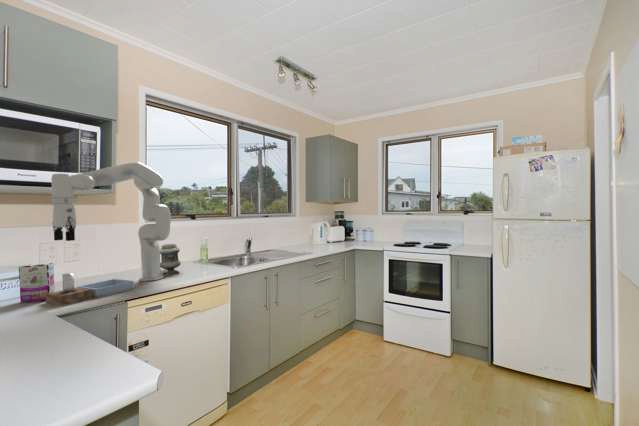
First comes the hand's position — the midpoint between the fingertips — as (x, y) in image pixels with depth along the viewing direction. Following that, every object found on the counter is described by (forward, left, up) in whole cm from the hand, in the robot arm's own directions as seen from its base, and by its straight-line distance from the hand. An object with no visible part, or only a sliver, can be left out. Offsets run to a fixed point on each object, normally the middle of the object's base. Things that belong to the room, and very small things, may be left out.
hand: (64, 240), depth 143 cm
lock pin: (-1, +1, -27) cm, 27 cm away
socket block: (-1, +1, -27) cm, 27 cm away
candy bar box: (+4, -14, -27) cm, 31 cm away
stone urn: (-61, -8, -27) cm, 67 cm away
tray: (-17, +1, -27) cm, 32 cm away
